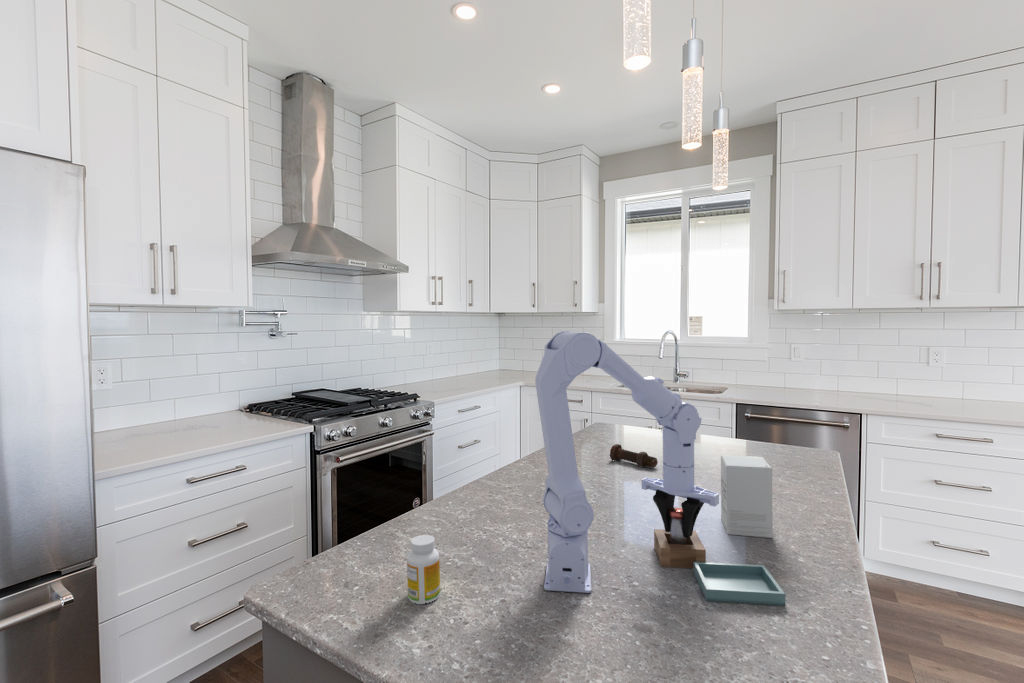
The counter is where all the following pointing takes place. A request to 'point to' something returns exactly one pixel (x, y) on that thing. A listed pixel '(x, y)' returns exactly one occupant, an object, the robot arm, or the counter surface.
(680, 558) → the bore block
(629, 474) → the counter surface
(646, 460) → the bolt
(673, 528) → the red capped cylinder
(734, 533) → the supplement box
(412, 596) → the supplement bottle
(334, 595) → the counter surface
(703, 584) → the tray
